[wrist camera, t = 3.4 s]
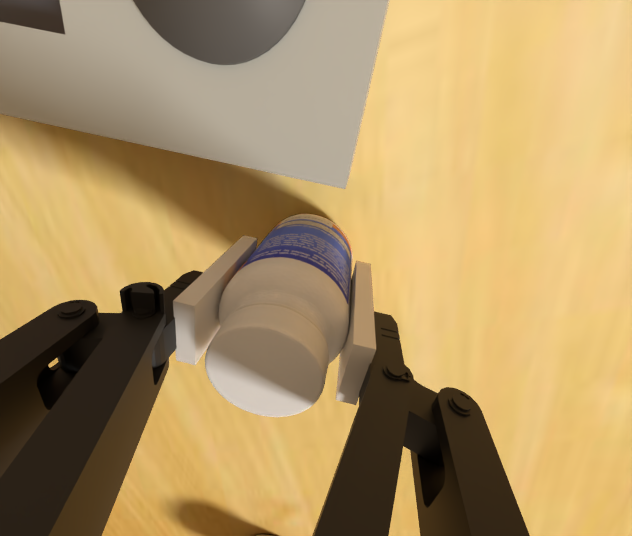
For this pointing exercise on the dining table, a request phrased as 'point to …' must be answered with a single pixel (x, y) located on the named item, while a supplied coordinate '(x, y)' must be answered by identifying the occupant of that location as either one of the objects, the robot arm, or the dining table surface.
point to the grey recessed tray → (200, 76)
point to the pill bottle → (283, 318)
